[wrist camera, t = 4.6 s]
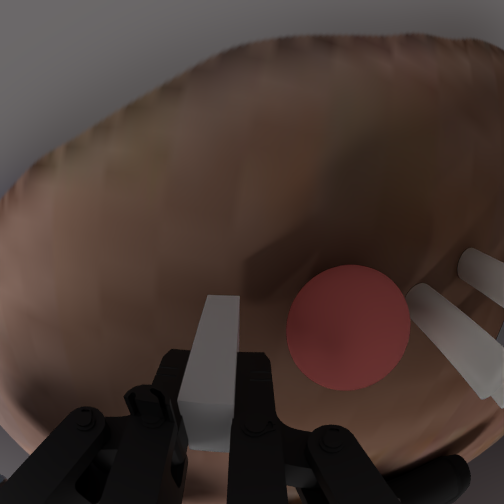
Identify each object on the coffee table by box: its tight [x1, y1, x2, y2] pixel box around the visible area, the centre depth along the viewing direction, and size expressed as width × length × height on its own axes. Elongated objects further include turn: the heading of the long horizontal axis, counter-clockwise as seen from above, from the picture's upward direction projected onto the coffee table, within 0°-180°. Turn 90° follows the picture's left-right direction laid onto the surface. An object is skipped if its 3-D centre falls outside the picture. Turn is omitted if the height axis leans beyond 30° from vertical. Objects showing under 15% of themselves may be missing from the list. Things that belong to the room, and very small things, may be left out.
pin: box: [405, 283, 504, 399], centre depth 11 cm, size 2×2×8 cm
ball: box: [286, 265, 411, 391], centre depth 12 cm, size 6×6×6 cm
